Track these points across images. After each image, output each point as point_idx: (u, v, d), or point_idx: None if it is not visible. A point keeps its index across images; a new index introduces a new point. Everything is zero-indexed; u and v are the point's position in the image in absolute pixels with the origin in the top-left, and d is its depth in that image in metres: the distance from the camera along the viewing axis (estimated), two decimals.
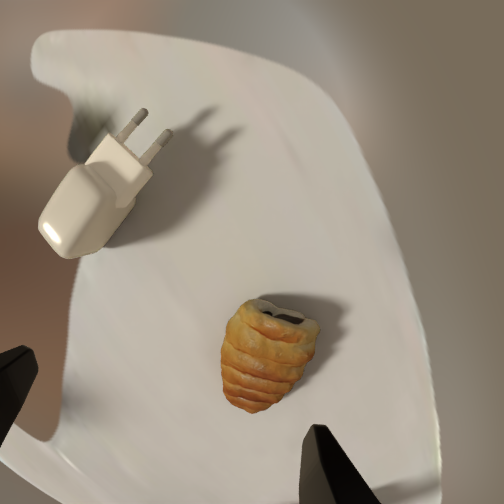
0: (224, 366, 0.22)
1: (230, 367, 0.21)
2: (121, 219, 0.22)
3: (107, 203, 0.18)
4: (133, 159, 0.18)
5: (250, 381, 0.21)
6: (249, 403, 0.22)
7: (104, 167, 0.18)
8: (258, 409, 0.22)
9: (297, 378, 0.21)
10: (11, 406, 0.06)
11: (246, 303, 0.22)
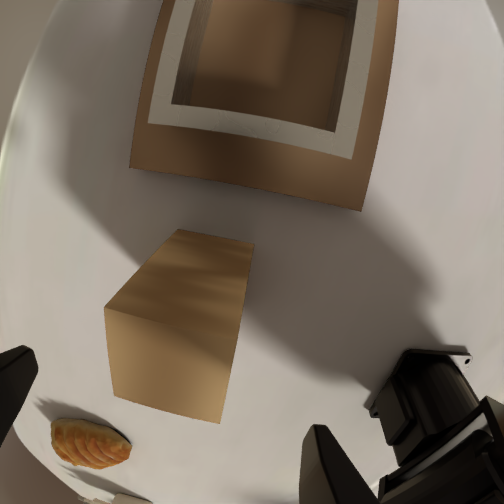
0: None
1: (106, 465, 0.22)
2: (126, 500, 0.28)
3: None
4: None
5: (94, 462, 0.21)
6: (107, 454, 0.21)
7: None
8: (106, 447, 0.21)
9: (68, 436, 0.21)
10: (11, 406, 0.06)
11: None
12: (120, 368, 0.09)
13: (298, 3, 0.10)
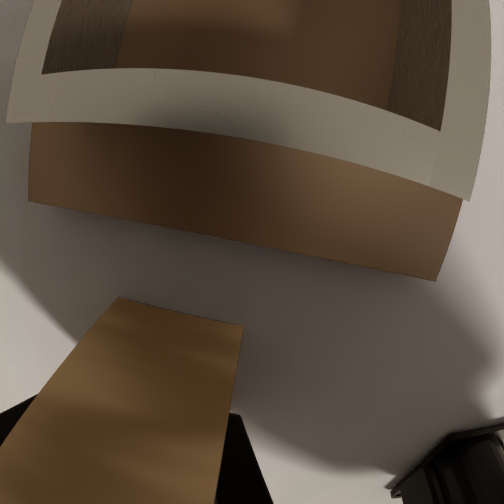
0: None
1: None
2: None
3: None
4: None
5: None
6: None
7: None
8: None
9: None
10: None
11: None
12: None
13: None
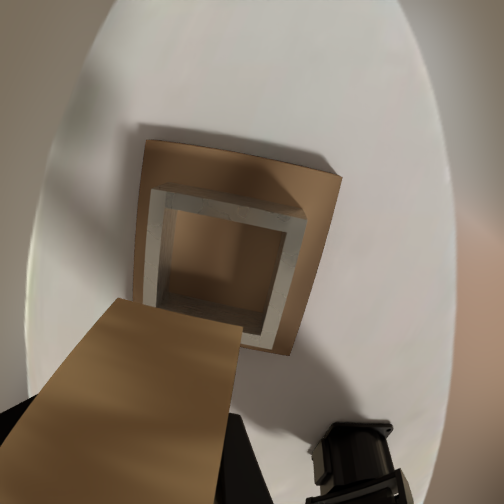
0: None
1: None
2: None
3: None
4: None
5: None
6: None
7: None
8: None
9: None
10: None
11: None
12: None
13: None
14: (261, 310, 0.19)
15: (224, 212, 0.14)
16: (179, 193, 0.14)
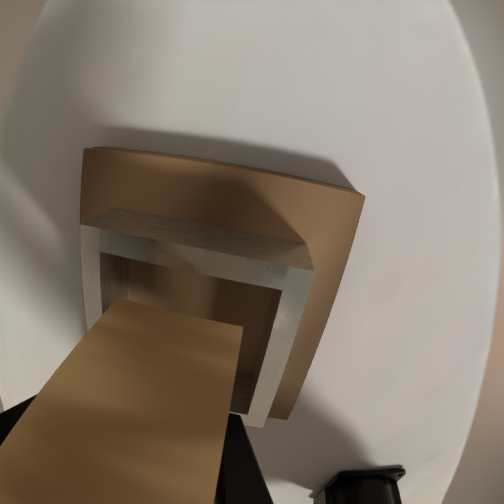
0: None
1: None
2: None
3: None
4: None
5: None
6: None
7: None
8: None
9: None
10: None
11: None
12: None
13: None
14: (250, 373, 0.14)
15: (184, 260, 0.09)
16: (118, 230, 0.09)
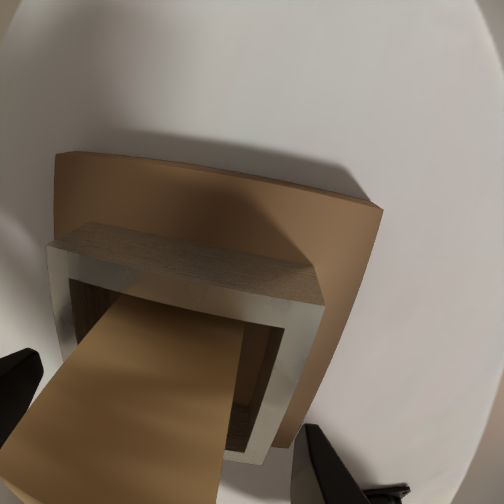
0: None
1: None
2: None
3: None
4: None
5: None
6: None
7: None
8: None
9: None
10: (16, 409, 0.06)
11: None
12: None
13: None
14: (247, 404, 0.12)
15: (164, 292, 0.07)
16: (87, 254, 0.07)
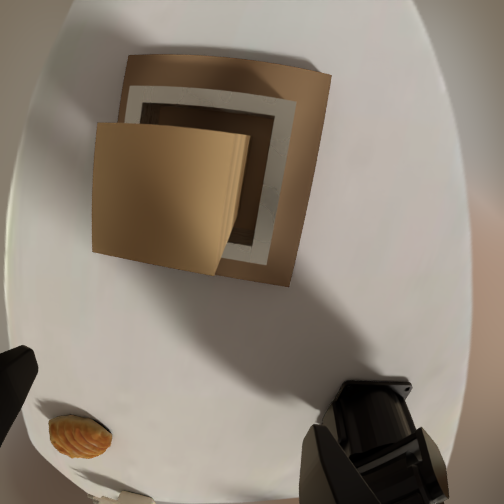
0: (99, 454, 0.27)
1: (94, 454, 0.26)
2: (129, 496, 0.33)
3: None
4: None
5: (82, 451, 0.25)
6: (91, 442, 0.25)
7: None
8: (88, 435, 0.25)
9: (59, 430, 0.25)
10: (11, 406, 0.06)
11: None
12: (103, 203, 0.08)
13: (230, 112, 0.14)
14: (253, 227, 0.17)
15: (205, 99, 0.12)
16: (158, 86, 0.12)
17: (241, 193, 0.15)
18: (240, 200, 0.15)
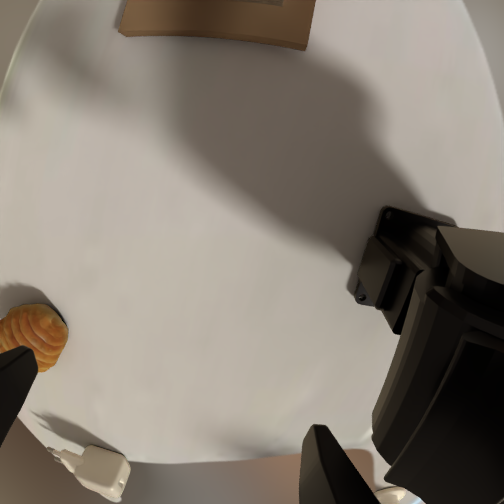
0: (50, 362, 0.22)
1: (44, 361, 0.21)
2: (97, 451, 0.28)
3: (76, 471, 0.25)
4: (62, 461, 0.26)
5: None
6: (38, 333, 0.20)
7: None
8: (36, 320, 0.20)
9: (6, 320, 0.20)
10: (11, 406, 0.06)
11: None
12: None
13: None
14: None
15: None
16: None
17: None
18: None
